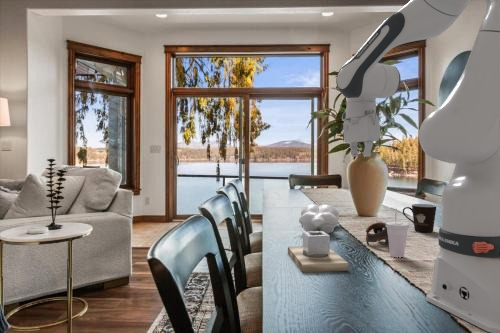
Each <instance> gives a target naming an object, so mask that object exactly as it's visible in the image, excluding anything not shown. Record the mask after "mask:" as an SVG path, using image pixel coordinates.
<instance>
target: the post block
mask: <svg viewBox="0 0 500 333" xmlns="http://www.w3.org/2000/svg"><path fill="white" fill-rule="evenodd" d="M312 235H319V233H318V232H312ZM287 254H288V256H289V257H290V258H291V259H292V261H293V262H294V263H295V265H296V267H297V268H298V269H299V270H300V271H301V272H302V273H317V272H319V273H320V272H321V273H323V272H343V271H344V272H345V271H347V272H348V271H349V262H347V261H346V260H345V259H344V258H343V257H341V256H340V255H339V254H338V253H336V252H335V251H334V250H333V249H331V248H330V254H313V255H308V254H307V253H306V252H305V251H304V250H303V245H302V246H300V245H297V246H295V245H294V246H288V247H287Z"/></svg>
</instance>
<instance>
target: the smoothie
mask: <svg viewBox="0 0 500 333" xmlns="http://www.w3.org/2000/svg"><path fill="white" fill-rule="evenodd" d="M385 224H386V227H387V233H388V241H389V242H388V248H389V249H388V250H389V256H390V257H391V256H392V257H391V258H394V257H397V258H396V259H402V258H401V257H403V258H404V257H405V251H406V246H407V238H408V231H409V228H410V224H409V223H408V222H404V221H398V208H394V221H387V222H385ZM398 257H399V258H398Z"/></svg>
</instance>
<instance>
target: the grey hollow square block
mask: <svg viewBox="0 0 500 333" xmlns="http://www.w3.org/2000/svg"><path fill="white" fill-rule="evenodd" d="M312 232H318V233H319V235H312ZM330 238H331V236H330V234H327V233H325V232H324V231H320V230H317V231H308V232H306V231H302V246H303V250H304V251H305V252H306V253H307V254H308V255H313V254H330V249H331V246H330V245H331V244H330V243H331V242H330Z"/></svg>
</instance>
